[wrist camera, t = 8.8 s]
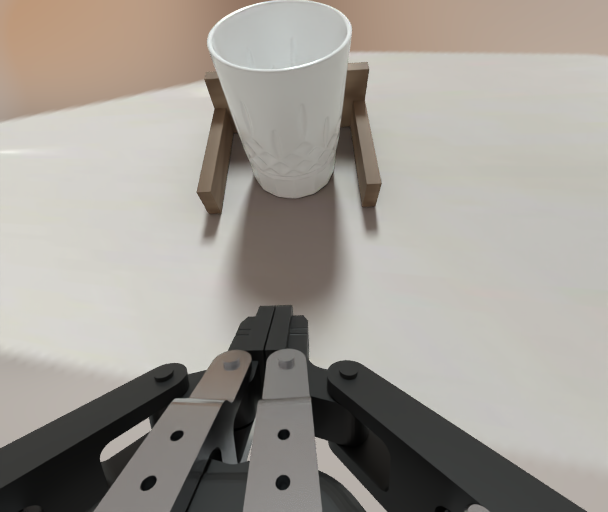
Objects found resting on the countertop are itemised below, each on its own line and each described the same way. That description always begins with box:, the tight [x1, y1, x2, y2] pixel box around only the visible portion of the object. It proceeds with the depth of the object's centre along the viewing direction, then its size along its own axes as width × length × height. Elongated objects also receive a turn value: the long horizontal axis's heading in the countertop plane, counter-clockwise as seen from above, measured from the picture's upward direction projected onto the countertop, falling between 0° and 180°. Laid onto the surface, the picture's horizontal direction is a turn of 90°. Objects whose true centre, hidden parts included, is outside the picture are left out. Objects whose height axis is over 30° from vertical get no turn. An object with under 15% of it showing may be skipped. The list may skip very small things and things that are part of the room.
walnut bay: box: [197, 62, 382, 214], centre depth 22 cm, size 13×10×5 cm
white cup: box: [207, 0, 352, 198], centre depth 20 cm, size 8×8×10 cm
